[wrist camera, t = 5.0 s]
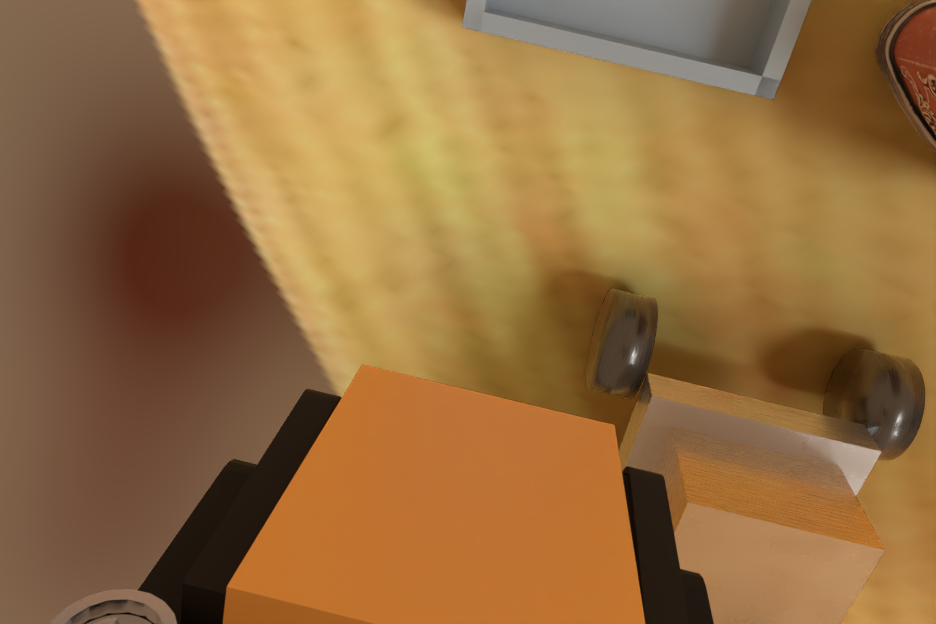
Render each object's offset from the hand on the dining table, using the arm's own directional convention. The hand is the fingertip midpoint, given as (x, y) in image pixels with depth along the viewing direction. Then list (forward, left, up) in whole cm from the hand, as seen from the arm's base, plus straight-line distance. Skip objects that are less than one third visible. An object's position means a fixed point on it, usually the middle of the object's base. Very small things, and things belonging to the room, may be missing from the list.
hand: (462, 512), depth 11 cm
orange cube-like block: (0, +1, -1) cm, 1 cm away
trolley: (-10, +10, -19) cm, 23 cm away
